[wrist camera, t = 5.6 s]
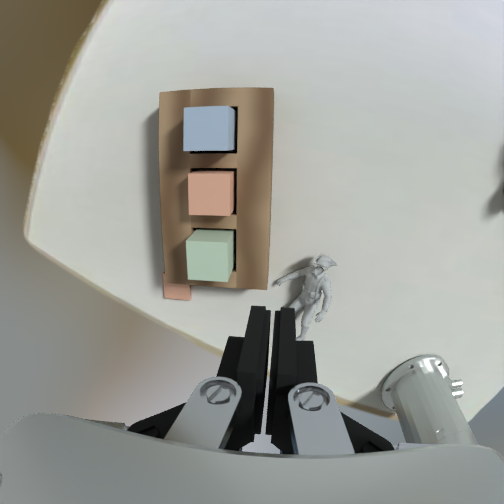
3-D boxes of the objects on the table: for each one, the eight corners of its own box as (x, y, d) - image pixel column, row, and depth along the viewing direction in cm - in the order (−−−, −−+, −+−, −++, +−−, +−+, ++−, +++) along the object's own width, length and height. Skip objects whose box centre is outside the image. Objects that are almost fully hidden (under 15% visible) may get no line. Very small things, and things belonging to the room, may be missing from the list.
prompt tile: (189, 273, 40) (188, 275, 39) (191, 298, 41) (190, 300, 41) (163, 272, 40) (162, 273, 40) (166, 296, 41) (164, 298, 41)
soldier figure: (265, 316, 42) (278, 248, 35) (290, 302, 45) (308, 236, 37) (302, 355, 38) (328, 290, 30) (327, 337, 40) (356, 273, 33)
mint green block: (235, 227, 35) (227, 242, 30) (235, 262, 37) (227, 282, 32) (199, 226, 36) (185, 240, 30) (200, 260, 37) (188, 279, 32)
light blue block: (236, 111, 31) (228, 105, 26) (236, 149, 32) (227, 150, 27) (198, 112, 31) (183, 107, 26) (198, 149, 33) (183, 151, 27)
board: (274, 94, 32) (273, 87, 28) (268, 275, 39) (266, 289, 35) (171, 97, 32) (159, 92, 29) (176, 270, 40) (166, 283, 36)
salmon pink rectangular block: (237, 169, 34) (229, 173, 29) (237, 205, 36) (229, 216, 31) (201, 169, 35) (187, 173, 30) (201, 204, 36) (188, 214, 31)
